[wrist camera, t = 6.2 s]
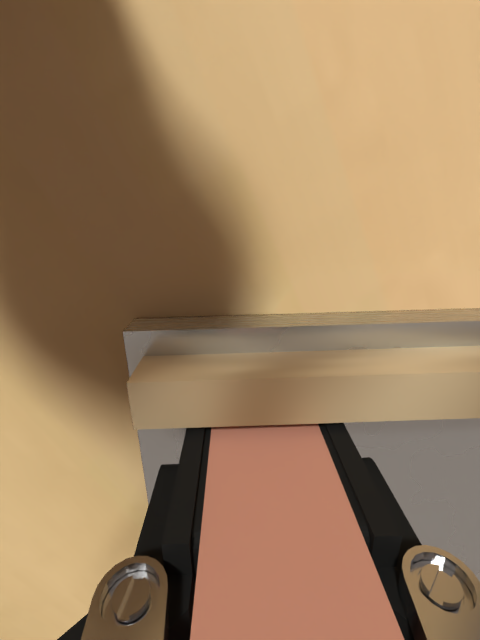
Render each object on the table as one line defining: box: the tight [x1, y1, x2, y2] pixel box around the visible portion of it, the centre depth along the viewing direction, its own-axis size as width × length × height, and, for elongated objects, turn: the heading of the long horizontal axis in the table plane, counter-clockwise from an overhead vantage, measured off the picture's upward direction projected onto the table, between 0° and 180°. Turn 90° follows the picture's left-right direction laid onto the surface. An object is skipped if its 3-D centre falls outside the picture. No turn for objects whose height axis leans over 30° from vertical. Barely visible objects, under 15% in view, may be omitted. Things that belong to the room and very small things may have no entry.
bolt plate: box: [123, 308, 480, 582], centre depth 12 cm, size 24×12×1 cm, turn 91°
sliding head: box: [190, 424, 404, 640], centre depth 8 cm, size 3×4×6 cm
